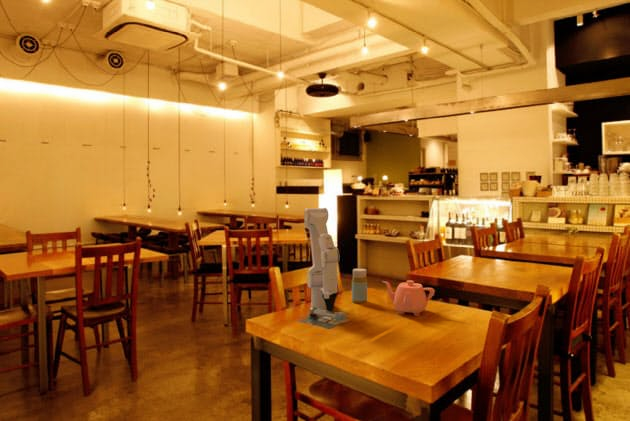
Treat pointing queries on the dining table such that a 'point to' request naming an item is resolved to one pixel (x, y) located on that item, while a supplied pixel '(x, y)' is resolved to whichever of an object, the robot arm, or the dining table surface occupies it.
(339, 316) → the swing arm
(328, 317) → the label
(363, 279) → the bottle
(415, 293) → the teapot
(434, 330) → the dining table surface
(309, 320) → the plate
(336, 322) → the label
